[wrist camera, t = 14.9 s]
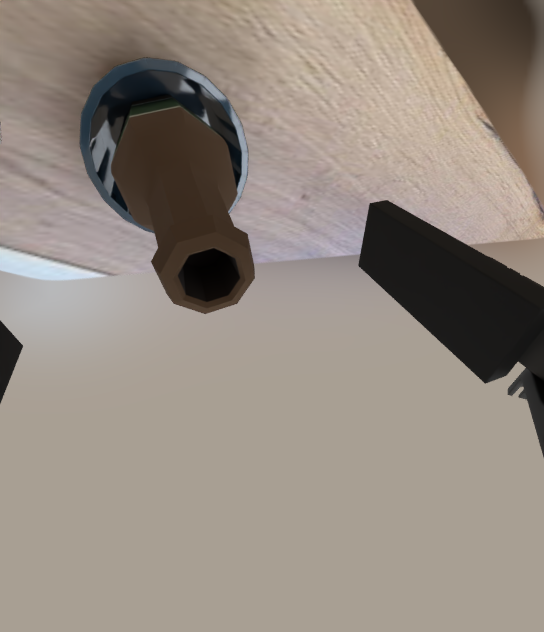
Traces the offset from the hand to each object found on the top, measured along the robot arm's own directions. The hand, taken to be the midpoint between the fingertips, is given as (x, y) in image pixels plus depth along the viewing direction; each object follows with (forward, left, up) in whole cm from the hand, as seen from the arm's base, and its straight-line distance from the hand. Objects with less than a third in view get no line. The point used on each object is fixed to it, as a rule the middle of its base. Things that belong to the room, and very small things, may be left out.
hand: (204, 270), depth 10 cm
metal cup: (0, 0, -24) cm, 24 cm away
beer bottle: (0, 0, -24) cm, 24 cm away
